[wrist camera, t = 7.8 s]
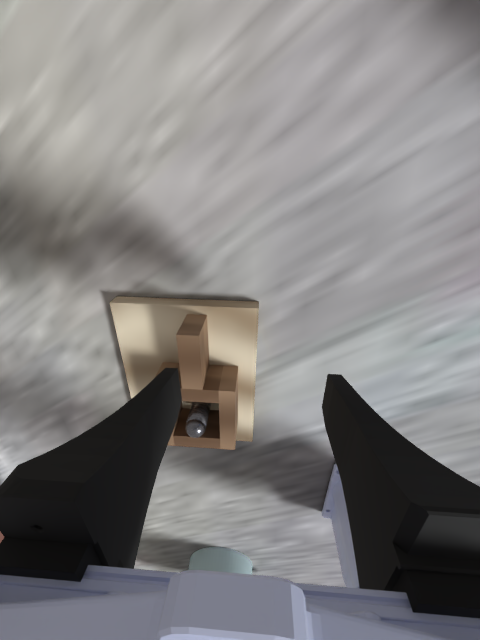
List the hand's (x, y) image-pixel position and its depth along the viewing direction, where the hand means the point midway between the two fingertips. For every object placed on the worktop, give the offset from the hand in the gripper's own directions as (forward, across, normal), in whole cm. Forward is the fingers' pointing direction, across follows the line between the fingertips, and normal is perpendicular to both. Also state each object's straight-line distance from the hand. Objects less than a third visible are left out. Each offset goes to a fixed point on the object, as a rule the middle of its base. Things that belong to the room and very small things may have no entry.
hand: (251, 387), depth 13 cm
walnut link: (+8, +4, +5) cm, 10 cm away
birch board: (+9, +5, +6) cm, 12 cm away
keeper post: (+8, +4, +8) cm, 12 cm away
